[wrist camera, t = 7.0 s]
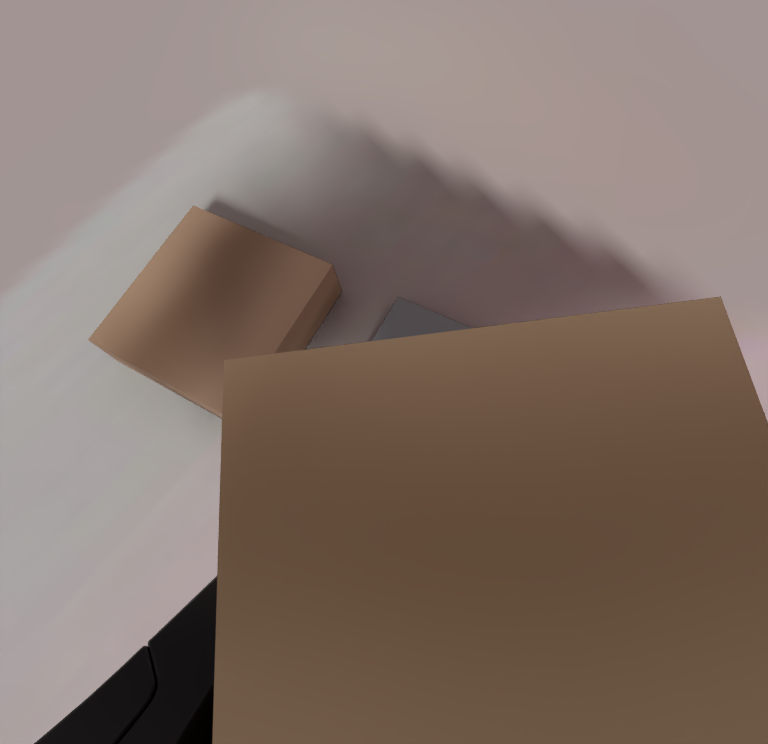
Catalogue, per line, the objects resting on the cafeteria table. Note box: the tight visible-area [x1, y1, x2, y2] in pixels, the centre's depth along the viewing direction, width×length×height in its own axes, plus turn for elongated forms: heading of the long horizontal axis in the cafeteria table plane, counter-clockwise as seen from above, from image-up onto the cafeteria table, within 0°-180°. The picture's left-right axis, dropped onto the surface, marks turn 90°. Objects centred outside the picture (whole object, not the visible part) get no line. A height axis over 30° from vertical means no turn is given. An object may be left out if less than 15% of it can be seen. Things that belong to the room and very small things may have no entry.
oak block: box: [212, 297, 768, 744], centre depth 8 cm, size 4×4×9 cm
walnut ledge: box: [88, 206, 342, 418], centre depth 22 cm, size 7×7×2 cm
